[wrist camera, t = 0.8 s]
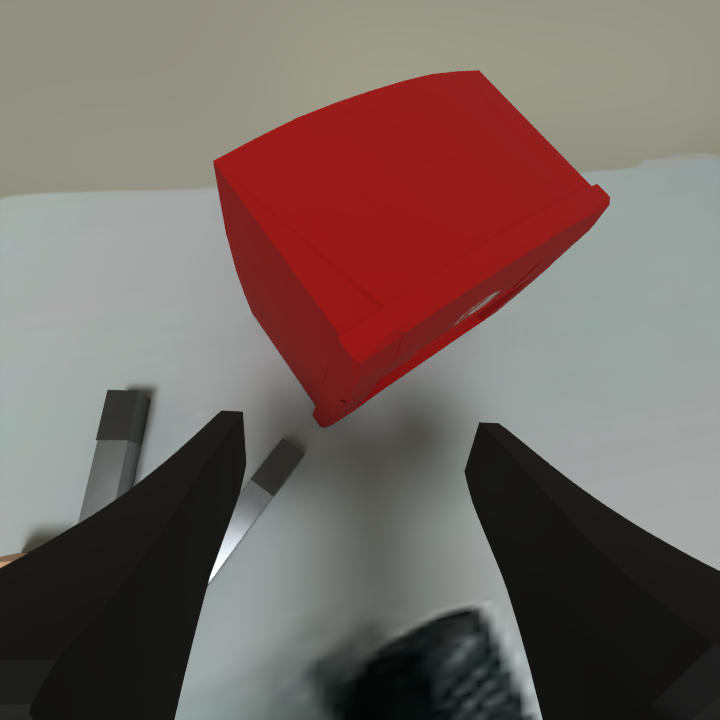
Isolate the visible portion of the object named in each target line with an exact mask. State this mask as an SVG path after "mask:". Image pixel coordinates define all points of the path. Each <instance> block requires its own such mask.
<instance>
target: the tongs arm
mask: <svg viewBox="0 0 720 720" xmlns="http://www.w3.org/2000/svg"><path fill="white" fill-rule="evenodd" d="M303 456H304V454H303V453H302V452H301V451H299V450H298V449H296V448H295V447H294V446H292V445H291V444H290V443H288V442H287V441H286V440H284V439H283V438H282V440H281V441H280V442H279V444H278V445H277V446H276V447H275V449H274V450H273V451H272V453H271V454H270V455H269V456H268V458H267V459H266V460H265V462H264V463H263V464H262V465H261V467H260V468H259V469H258V471H257V472H256V473H255V474H254V476H253V477H252V478H251V481H250V482H249V484H248V485H247V486H246V488H245V489H244V490H243V491H242V493H241V494H240V495H239V498H238V501H237V503H236V506H235V509H234V512H233V515H232V518H231V520H230V523H229V526H228V529H227V531H226V534H225V537H224V540H223V542H222V545H221V548H220V551H219V554H218V556H217V559H216V562H215V565H214V567H213V570H212V573H211V576H210V579H209V583H210V582H211V581H212V579H213V578H214V577H215V575H216V574H217V573H218V571H219V570H220V569H221V567H222V566H223V564H224V563H225V562H226V560H227V559H228V558H229V556H230V555H231V554H232V552H233V551H234V549H235V548H236V547H237V545H238V544H239V543H240V541H241V540H242V539H243V537H244V536H245V535H246V533H247V532H248V530H249V529H250V528H251V526H252V525H253V524H254V522H255V521H256V520H257V518H258V517H259V515H260V514H261V513H262V511H263V510H264V509H265V507H266V506H267V505H268V503H269V502H270V501H271V499H272V498H273V497H274V496H275V495H276V494H277V492H278V491H279V490H280V488H281V487H282V485H283V484H284V483H285V481H286V480H287V479H288V477H289V476H290V475H291V473H292V472H293V470H294V469H295V468H296V466H297V465H298V464H299V462H300V461H301V460H302V458H303ZM209 583H208V585H209Z"/></svg>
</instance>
